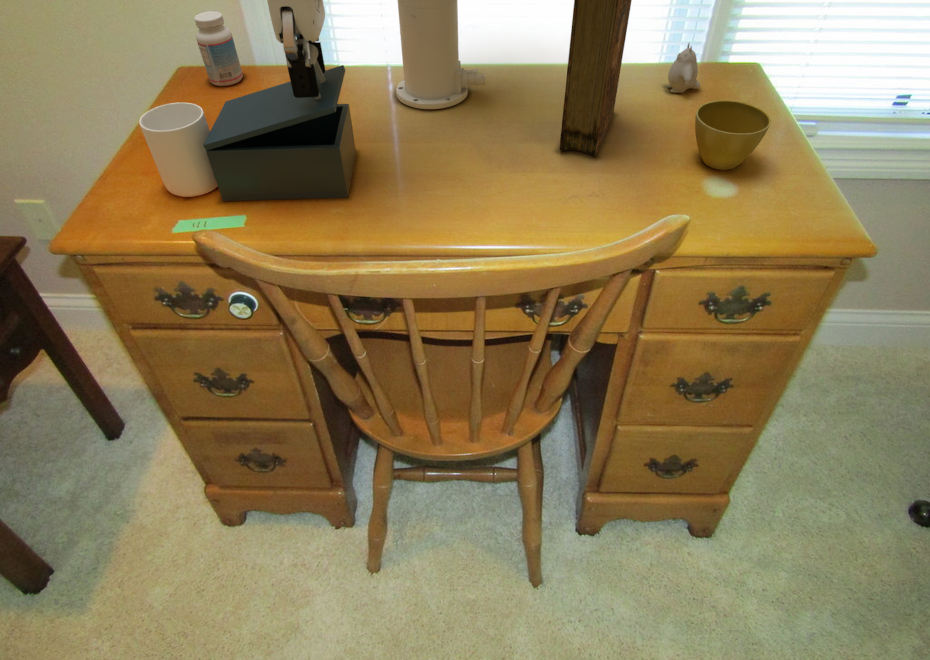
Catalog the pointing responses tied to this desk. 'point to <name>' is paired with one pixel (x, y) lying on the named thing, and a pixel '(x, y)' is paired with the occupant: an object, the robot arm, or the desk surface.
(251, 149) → the chest
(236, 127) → the lid
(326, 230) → the desk surface
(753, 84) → the desk surface
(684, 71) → the figurine
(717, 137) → the flower pot
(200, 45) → the pill bottle
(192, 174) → the mug
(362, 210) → the desk surface
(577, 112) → the book
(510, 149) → the desk surface
